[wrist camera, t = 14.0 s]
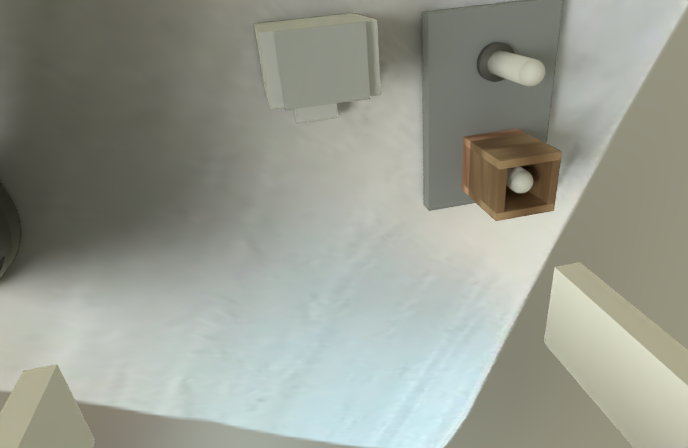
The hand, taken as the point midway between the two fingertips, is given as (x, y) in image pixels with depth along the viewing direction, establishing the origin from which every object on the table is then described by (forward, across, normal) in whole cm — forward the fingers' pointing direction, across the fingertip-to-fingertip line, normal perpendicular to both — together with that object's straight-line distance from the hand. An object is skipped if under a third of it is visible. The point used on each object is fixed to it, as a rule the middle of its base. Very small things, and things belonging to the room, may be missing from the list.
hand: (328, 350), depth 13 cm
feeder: (+32, +4, +2) cm, 32 cm away
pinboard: (+32, +20, -4) cm, 38 cm away
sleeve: (+30, +20, -8) cm, 37 cm away
